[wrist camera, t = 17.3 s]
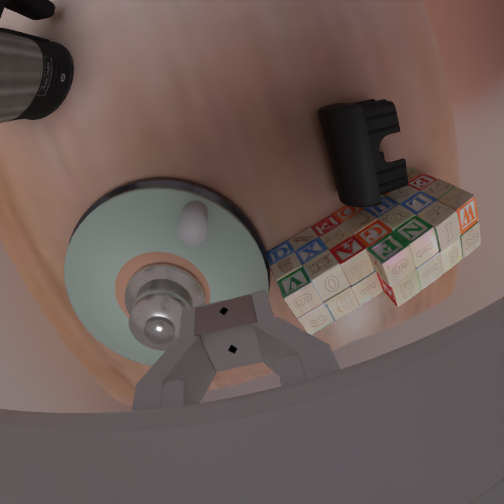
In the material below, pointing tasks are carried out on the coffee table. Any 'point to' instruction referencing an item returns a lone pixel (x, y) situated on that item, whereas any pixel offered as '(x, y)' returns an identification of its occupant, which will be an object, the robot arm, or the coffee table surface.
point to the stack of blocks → (376, 250)
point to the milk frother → (31, 67)
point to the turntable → (155, 257)
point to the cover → (160, 302)
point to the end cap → (362, 150)
